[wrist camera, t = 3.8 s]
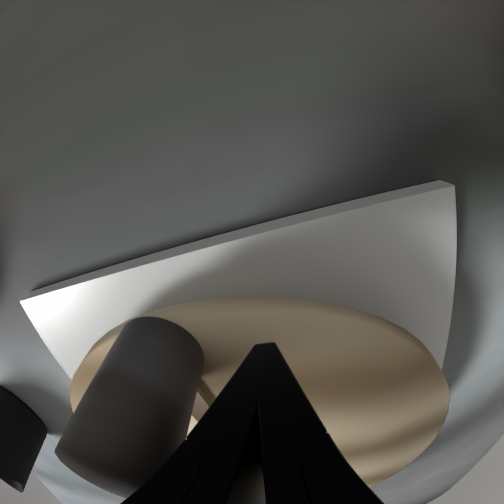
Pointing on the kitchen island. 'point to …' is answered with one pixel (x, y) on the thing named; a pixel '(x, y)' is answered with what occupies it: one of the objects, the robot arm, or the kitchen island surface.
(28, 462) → the pen holder
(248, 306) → the handwheel
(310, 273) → the base plate
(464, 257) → the kitchen island surface
